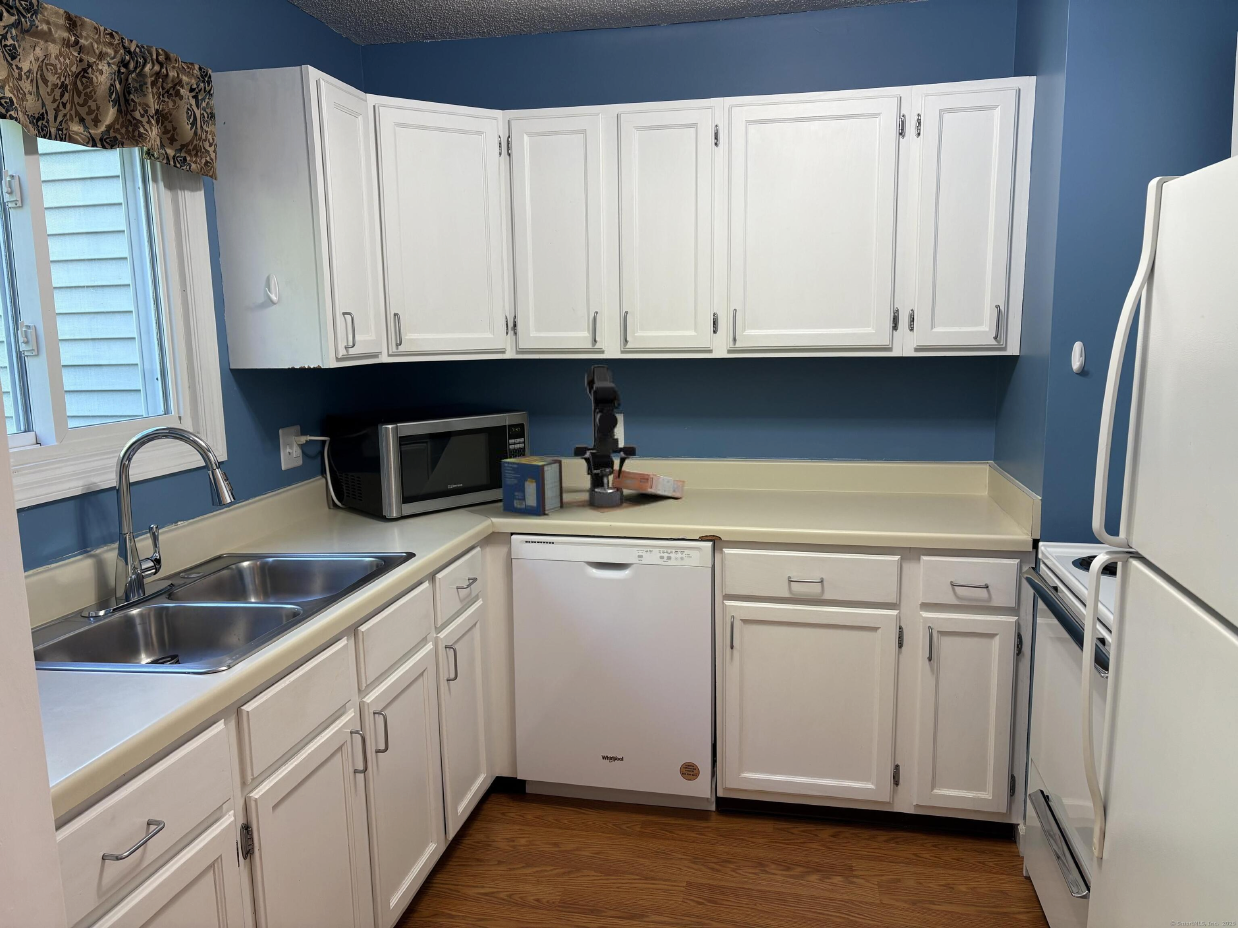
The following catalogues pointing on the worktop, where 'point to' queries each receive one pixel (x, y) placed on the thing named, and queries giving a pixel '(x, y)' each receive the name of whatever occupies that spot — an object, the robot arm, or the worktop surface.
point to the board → (585, 504)
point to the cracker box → (648, 483)
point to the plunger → (605, 481)
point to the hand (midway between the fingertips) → (605, 478)
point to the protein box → (532, 485)
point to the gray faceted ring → (605, 498)
